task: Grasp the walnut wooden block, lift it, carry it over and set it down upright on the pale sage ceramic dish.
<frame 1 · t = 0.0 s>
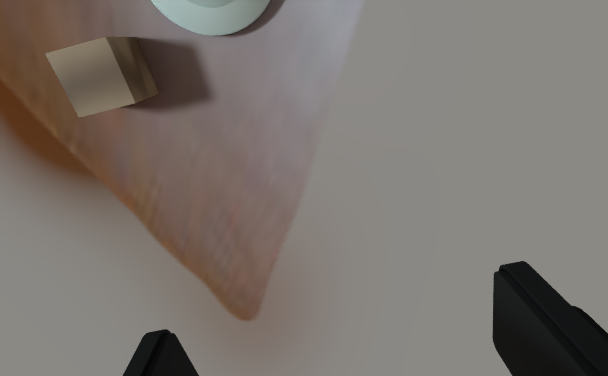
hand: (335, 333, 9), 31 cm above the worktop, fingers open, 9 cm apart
walnut block: (123, 73, 36), on the worktop
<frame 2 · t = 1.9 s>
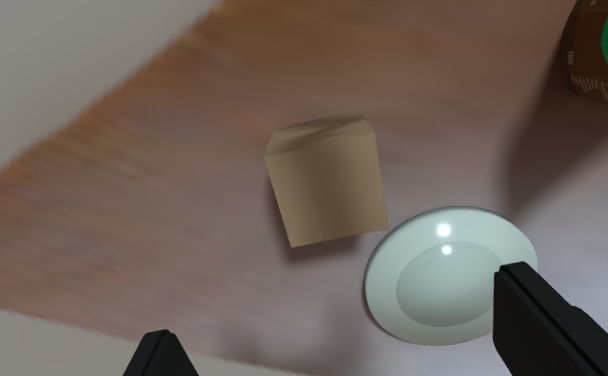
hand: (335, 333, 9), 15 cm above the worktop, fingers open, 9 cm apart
walnut block: (324, 159, 24), on the worktop
dish: (444, 277, 28), on the worktop
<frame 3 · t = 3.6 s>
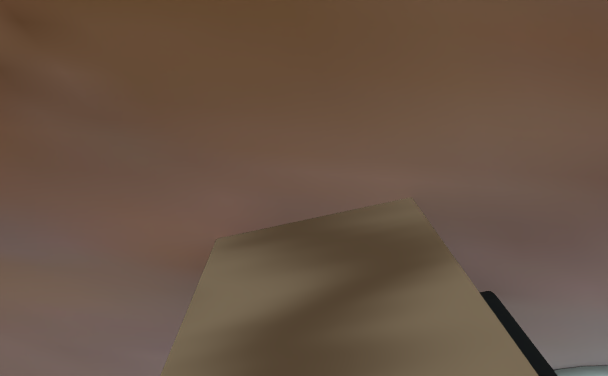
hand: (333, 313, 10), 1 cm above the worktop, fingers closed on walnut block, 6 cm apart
walnut block: (331, 293, 11), on the worktop, touching gripper
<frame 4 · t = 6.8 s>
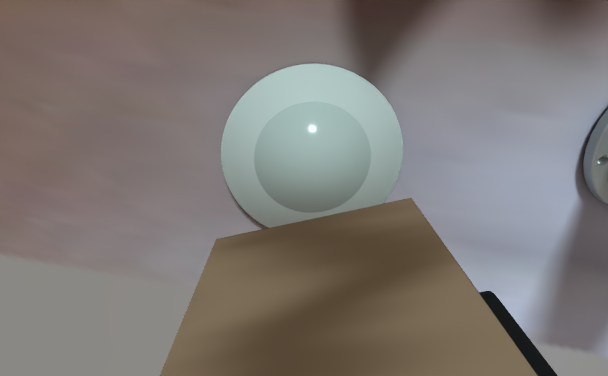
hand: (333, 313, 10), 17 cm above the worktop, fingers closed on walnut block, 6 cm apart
walnut block: (330, 293, 11), point 16 cm above the worktop, touching gripper
dish: (311, 155, 26), on the worktop
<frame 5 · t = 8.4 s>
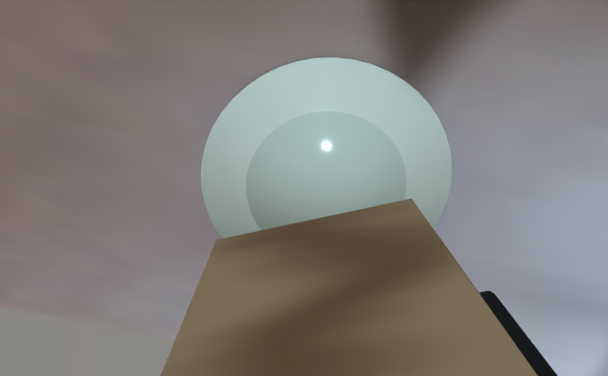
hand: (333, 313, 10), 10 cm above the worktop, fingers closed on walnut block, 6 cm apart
walnut block: (331, 294, 11), point 9 cm above the worktop, touching gripper
dish: (324, 182, 19), on the worktop
when the fingers open (4 cm above the worktop, at t = 10.0 s): walnut block drops 2 cm, resting on dish.
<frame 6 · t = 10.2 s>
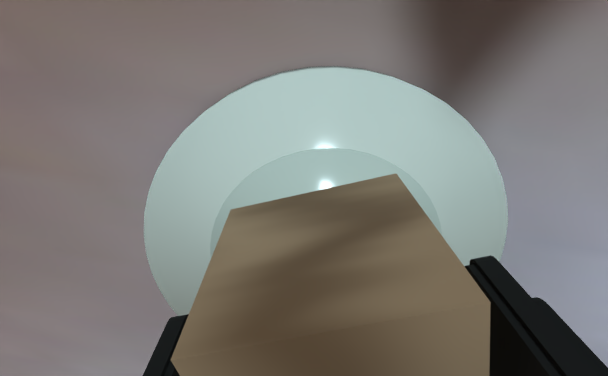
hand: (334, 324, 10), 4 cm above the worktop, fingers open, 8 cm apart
walnut block: (328, 258, 13), point 1 cm above the worktop, touching dish
dish: (323, 240, 14), on the worktop
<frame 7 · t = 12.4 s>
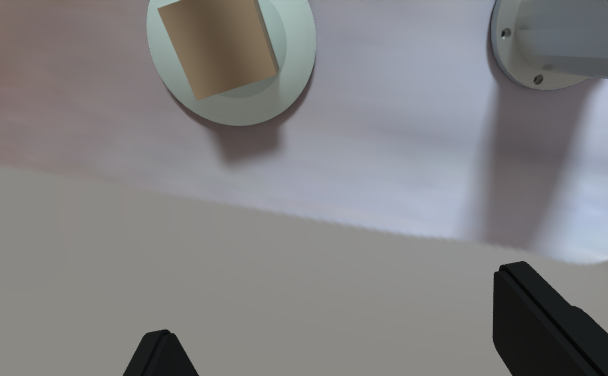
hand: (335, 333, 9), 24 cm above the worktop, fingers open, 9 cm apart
walnut block: (233, 43, 27), point 1 cm above the worktop, touching dish
dish: (235, 43, 28), on the worktop
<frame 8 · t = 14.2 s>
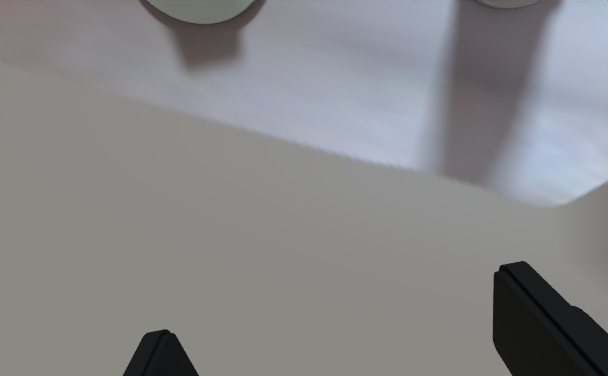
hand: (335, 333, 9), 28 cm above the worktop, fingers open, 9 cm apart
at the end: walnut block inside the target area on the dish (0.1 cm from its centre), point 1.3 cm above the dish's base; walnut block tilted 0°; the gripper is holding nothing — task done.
